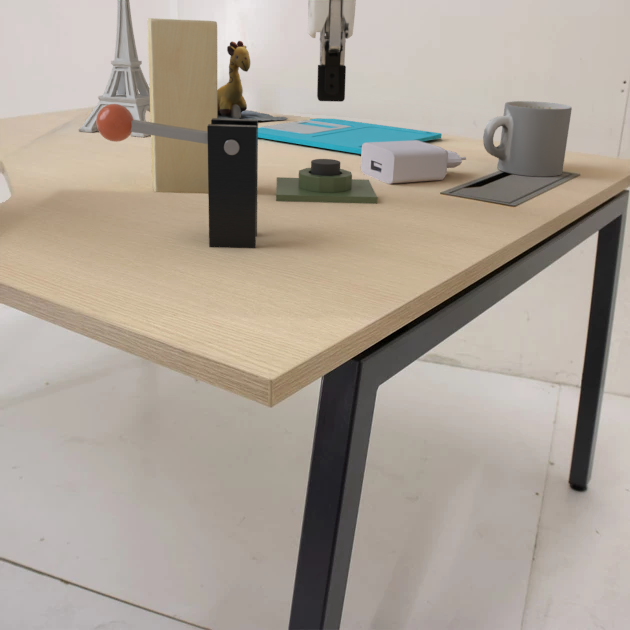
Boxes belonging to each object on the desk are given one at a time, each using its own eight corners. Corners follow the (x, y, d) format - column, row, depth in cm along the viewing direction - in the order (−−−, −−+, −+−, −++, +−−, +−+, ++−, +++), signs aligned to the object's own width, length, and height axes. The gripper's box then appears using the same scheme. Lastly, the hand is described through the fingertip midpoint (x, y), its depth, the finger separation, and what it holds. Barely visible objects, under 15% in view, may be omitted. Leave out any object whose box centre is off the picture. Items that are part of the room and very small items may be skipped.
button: (311, 178, 96) (311, 163, 96) (310, 172, 100) (310, 158, 99) (340, 179, 97) (341, 164, 96) (338, 173, 100) (339, 159, 99)
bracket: (166, 267, 74) (161, 127, 69) (178, 240, 82) (174, 114, 78) (295, 269, 75) (298, 131, 70) (294, 242, 83) (297, 117, 78)
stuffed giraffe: (226, 124, 159) (227, 39, 154) (177, 116, 171) (175, 38, 166) (287, 121, 169) (290, 42, 164) (236, 114, 182) (237, 40, 177)
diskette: (365, 155, 132) (366, 149, 131) (239, 135, 147) (239, 129, 147) (442, 138, 151) (442, 133, 151) (323, 122, 167) (324, 117, 166)
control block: (275, 212, 95) (276, 179, 93) (276, 193, 104) (276, 163, 102) (376, 215, 95) (378, 182, 94) (367, 196, 104) (369, 165, 103)
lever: (91, 141, 72) (93, 103, 71) (99, 135, 76) (101, 99, 74) (245, 165, 74) (250, 128, 73) (246, 158, 77) (251, 123, 76)
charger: (479, 179, 117) (391, 185, 111) (443, 167, 125) (359, 173, 119) (482, 147, 116) (394, 151, 109) (446, 137, 123) (361, 140, 117)
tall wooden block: (211, 183, 109) (208, 19, 101) (219, 195, 102) (217, 21, 94) (151, 184, 107) (144, 17, 99) (156, 197, 100) (149, 19, 92)
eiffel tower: (143, 137, 142) (135, -47, 131) (78, 131, 146) (65, -49, 135) (178, 127, 154) (173, -42, 143) (117, 122, 158) (108, -44, 147)
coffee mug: (548, 164, 130) (557, 101, 127) (572, 177, 121) (582, 109, 118) (469, 163, 129) (475, 99, 126) (486, 175, 120) (494, 107, 116)
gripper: (300, -66, 95) (298, 93, 102) (303, -77, 81) (300, 108, 88) (362, -64, 95) (356, 94, 102) (376, -75, 81) (368, 109, 88)
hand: (330, 100), depth 95 cm, fingers closed
